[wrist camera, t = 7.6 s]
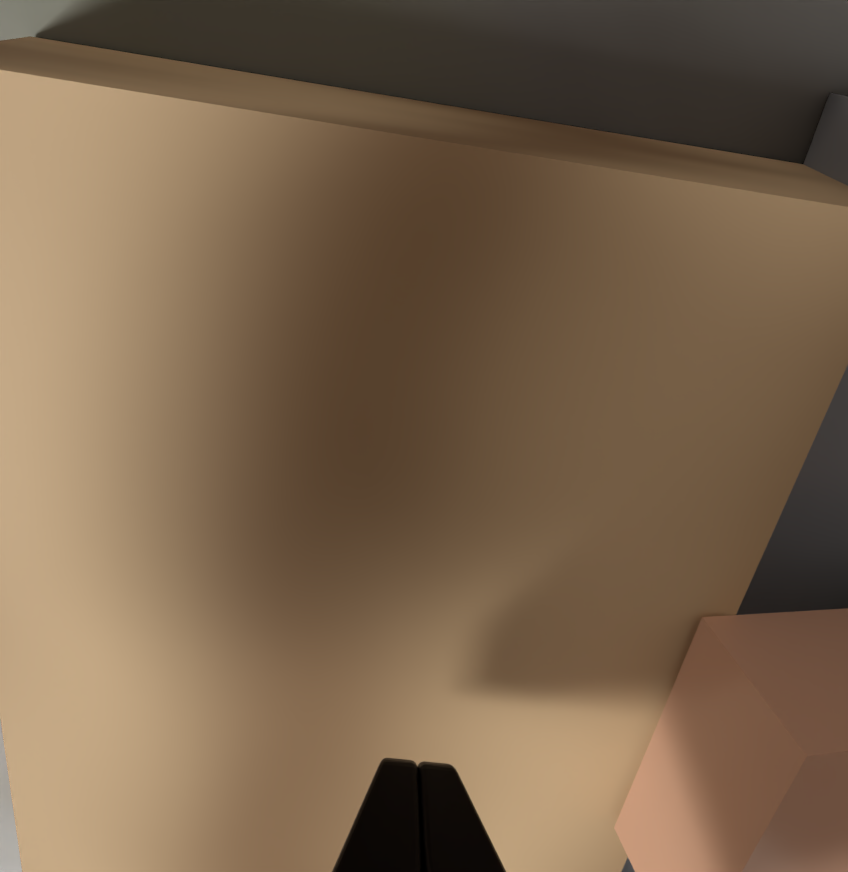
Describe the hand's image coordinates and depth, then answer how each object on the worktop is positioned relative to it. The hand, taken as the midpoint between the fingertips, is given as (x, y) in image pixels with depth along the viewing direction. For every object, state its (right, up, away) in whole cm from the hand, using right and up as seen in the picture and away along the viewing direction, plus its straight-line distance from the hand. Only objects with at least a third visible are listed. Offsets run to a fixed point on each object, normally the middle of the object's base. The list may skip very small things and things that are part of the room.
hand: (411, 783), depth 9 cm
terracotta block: (+5, 0, +2) cm, 5 cm away
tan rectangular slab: (-1, +2, +3) cm, 4 cm away
